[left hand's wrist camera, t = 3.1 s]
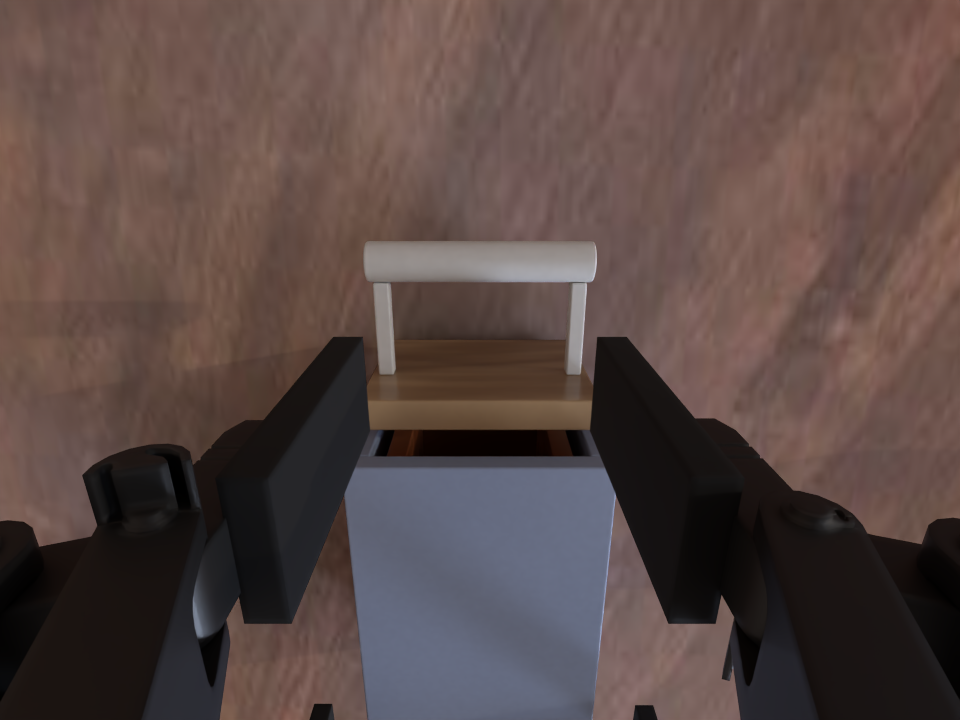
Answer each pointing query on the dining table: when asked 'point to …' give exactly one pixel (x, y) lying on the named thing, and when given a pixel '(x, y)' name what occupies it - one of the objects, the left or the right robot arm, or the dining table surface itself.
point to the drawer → (479, 355)
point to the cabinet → (479, 581)
